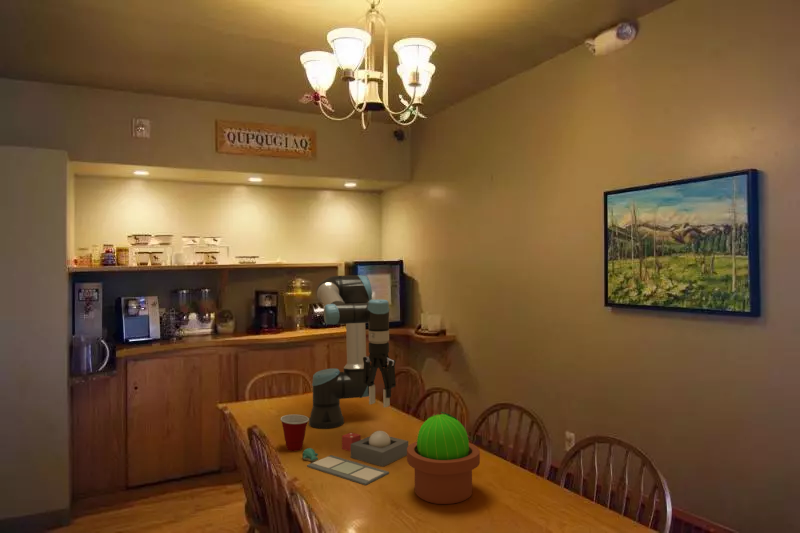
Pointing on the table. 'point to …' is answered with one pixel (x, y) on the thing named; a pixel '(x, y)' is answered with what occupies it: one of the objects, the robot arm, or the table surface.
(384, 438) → the white ball
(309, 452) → the turtle figurine
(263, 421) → the table surface
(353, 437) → the red die
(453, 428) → the potted cactus
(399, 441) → the dome collar
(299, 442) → the plastic cup
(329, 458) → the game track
